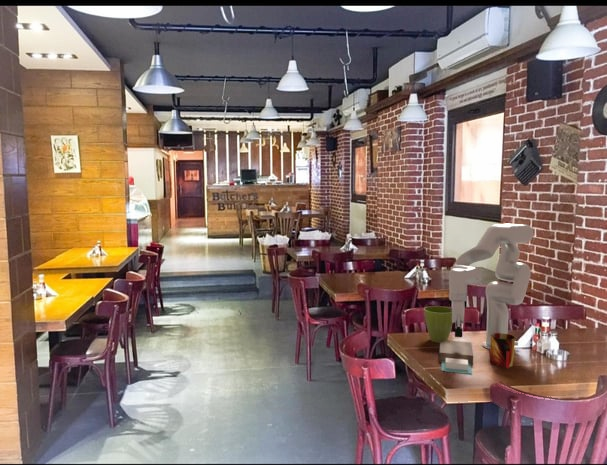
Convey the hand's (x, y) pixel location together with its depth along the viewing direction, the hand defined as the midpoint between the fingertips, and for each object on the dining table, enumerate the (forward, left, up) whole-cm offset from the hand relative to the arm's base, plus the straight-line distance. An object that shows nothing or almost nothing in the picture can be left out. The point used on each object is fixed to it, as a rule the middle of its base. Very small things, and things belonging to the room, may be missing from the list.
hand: (458, 336), depth 222 cm
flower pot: (+9, -24, -10) cm, 28 cm away
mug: (-19, +3, -10) cm, 22 cm away
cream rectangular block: (+1, +14, -7) cm, 15 cm away
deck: (+1, -2, -10) cm, 10 cm away
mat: (+1, +14, -10) cm, 17 cm away
